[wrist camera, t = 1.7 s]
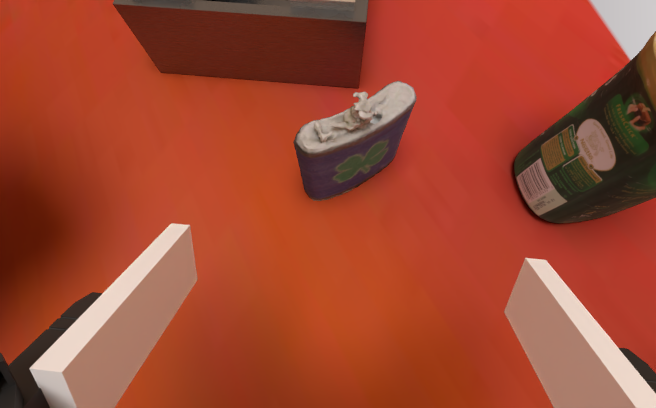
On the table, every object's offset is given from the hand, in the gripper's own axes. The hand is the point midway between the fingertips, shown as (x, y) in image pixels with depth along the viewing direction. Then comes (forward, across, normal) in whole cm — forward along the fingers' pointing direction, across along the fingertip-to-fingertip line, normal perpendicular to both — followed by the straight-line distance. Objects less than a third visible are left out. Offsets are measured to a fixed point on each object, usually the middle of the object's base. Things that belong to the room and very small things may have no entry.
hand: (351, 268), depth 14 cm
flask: (+18, 0, -3) cm, 18 cm away
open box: (+31, -10, +11) cm, 35 cm away
